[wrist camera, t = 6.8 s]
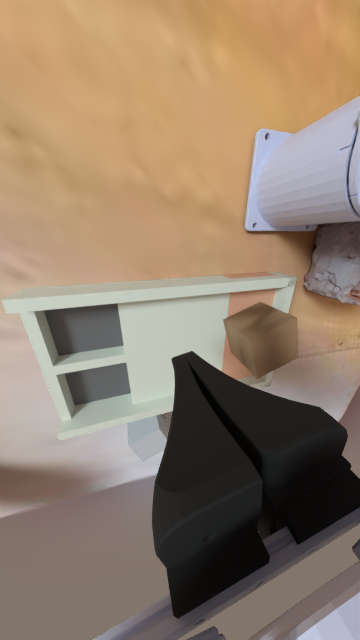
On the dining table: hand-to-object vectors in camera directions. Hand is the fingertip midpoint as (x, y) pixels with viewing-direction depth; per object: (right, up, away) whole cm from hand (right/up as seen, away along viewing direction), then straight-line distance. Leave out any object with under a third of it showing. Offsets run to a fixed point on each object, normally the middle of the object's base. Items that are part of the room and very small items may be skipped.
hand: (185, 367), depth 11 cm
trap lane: (-1, 0, +11) cm, 11 cm away
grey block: (-5, -11, +15) cm, 19 cm away
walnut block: (+8, +2, +11) cm, 14 cm away
